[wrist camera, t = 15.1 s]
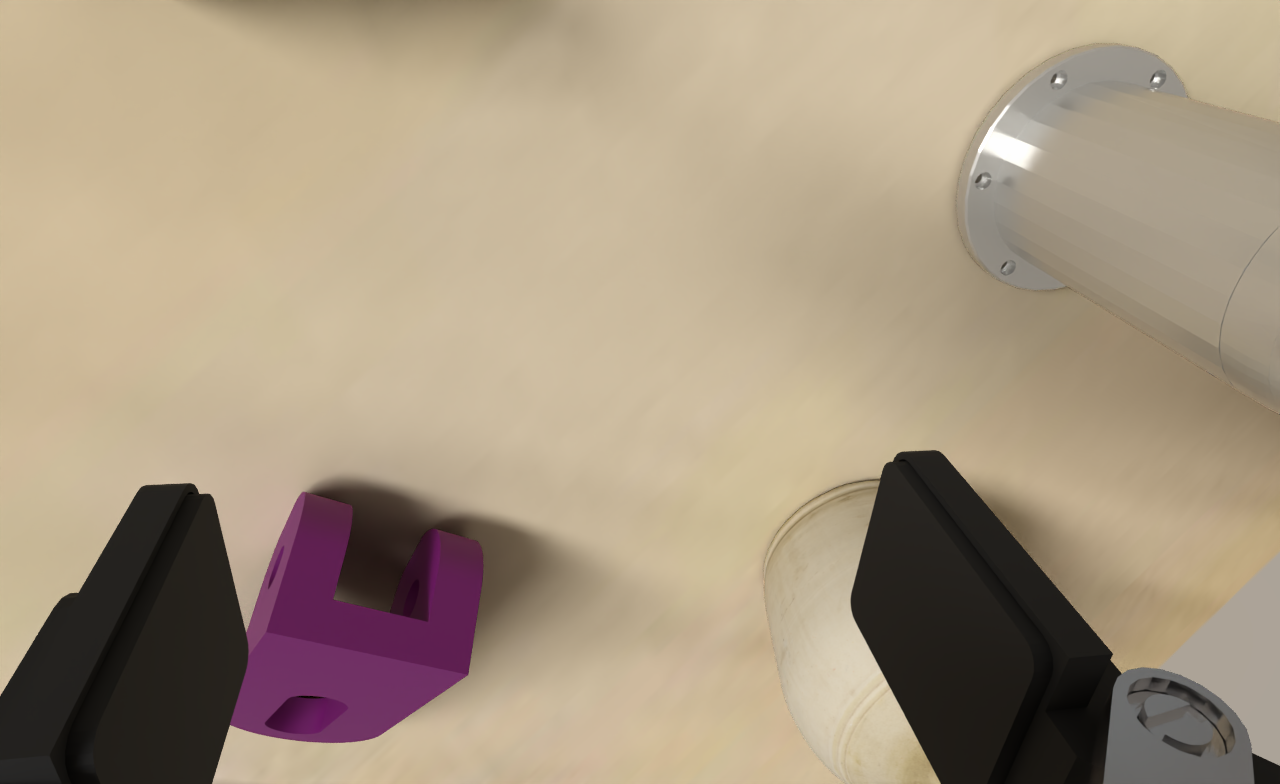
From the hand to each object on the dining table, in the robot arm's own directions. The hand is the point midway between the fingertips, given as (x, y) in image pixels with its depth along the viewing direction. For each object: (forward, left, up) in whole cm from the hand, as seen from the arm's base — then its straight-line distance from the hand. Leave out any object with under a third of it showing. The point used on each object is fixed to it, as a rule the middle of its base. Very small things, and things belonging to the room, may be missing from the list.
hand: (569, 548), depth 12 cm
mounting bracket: (+10, +28, -29) cm, 42 cm away
